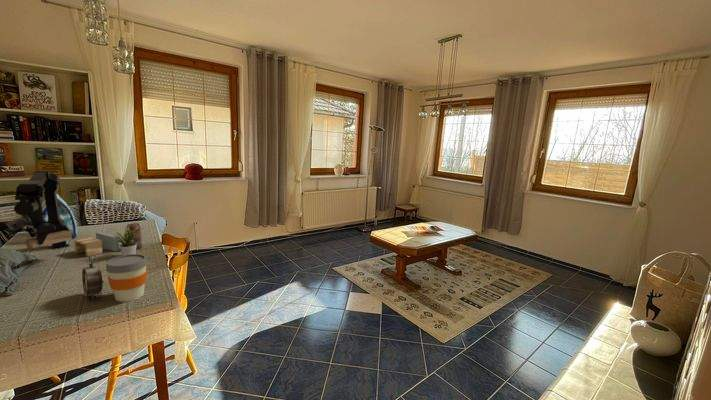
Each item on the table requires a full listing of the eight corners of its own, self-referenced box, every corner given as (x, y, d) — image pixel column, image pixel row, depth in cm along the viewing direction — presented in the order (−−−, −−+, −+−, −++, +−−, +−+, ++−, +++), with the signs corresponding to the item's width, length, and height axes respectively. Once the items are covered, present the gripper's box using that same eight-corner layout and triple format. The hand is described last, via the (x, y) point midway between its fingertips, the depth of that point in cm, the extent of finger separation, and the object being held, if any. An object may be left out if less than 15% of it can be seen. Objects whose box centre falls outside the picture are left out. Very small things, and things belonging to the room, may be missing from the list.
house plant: (154, 254, 156) (151, 225, 154) (124, 263, 144) (121, 231, 141) (138, 249, 162) (135, 221, 159) (108, 257, 150) (105, 226, 147)
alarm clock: (83, 293, 115) (78, 254, 112) (101, 289, 119) (96, 251, 116) (87, 304, 108) (82, 262, 105) (106, 299, 112) (102, 258, 109)
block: (75, 253, 153) (73, 240, 151) (90, 249, 159) (89, 236, 157) (87, 256, 149) (86, 243, 148) (102, 252, 155) (101, 240, 154)
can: (135, 250, 160) (132, 226, 158) (125, 249, 162) (123, 225, 159) (144, 247, 166) (143, 223, 164) (135, 246, 167) (133, 222, 165)
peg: (26, 247, 133) (25, 238, 132) (65, 238, 147) (65, 230, 146) (32, 248, 132) (31, 239, 131) (71, 239, 146) (71, 231, 145)
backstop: (97, 246, 164) (95, 232, 162) (101, 245, 166) (99, 232, 164) (115, 251, 158) (113, 237, 157) (119, 250, 160) (118, 236, 159)
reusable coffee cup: (117, 307, 106) (113, 269, 104) (103, 297, 113) (99, 260, 110) (155, 294, 117) (152, 258, 114) (140, 285, 123) (138, 251, 121)
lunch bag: (37, 235, 177) (31, 192, 173) (75, 230, 190) (70, 190, 185) (39, 244, 163) (33, 198, 159) (80, 238, 176) (75, 195, 171)
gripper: (-4, 211, 128) (2, 245, 131) (18, 216, 122) (24, 252, 124) (31, 207, 138) (36, 238, 141) (54, 212, 132) (58, 245, 134)
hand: (38, 243), depth 135 cm, fingers closed on peg, 4 cm apart
